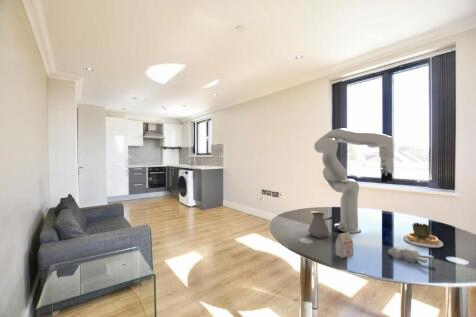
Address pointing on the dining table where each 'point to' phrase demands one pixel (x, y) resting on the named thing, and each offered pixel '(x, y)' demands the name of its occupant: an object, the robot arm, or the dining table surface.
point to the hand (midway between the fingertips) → (386, 181)
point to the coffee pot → (319, 225)
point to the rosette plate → (423, 241)
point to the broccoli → (421, 230)
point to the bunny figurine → (408, 255)
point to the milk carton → (344, 245)
